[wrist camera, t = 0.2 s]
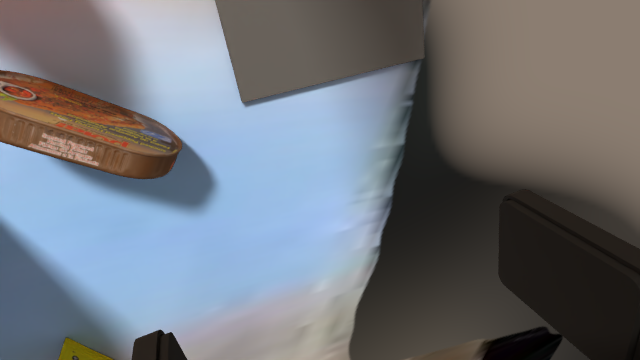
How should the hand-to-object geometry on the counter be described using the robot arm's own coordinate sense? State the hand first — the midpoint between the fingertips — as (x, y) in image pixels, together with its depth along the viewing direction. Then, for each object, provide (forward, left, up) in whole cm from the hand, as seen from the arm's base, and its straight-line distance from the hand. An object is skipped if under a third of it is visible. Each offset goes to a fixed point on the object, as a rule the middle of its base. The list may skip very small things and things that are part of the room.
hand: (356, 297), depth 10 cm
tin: (0, -12, -31) cm, 33 cm away
